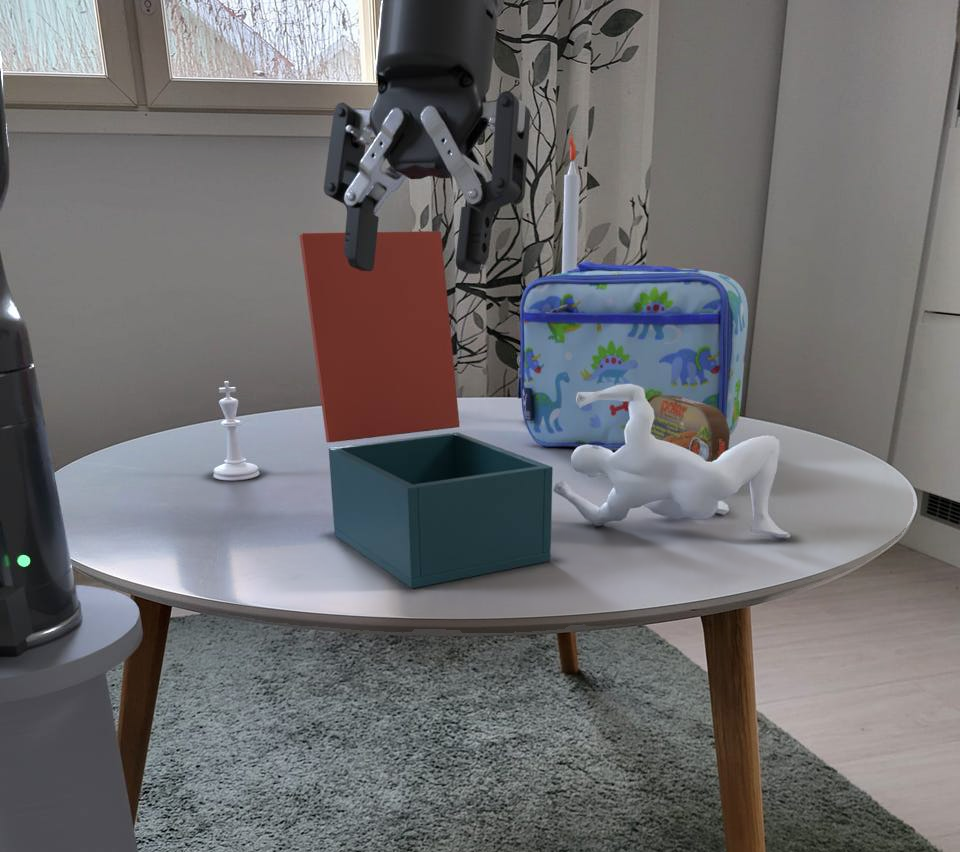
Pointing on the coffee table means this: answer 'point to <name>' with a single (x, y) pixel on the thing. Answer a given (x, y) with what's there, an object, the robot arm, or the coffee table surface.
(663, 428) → the tin
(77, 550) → the coffee table surface
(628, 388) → the person figurine
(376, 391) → the red box lid
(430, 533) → the teal box
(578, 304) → the lunch box
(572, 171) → the candlestick
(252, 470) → the chess piece
